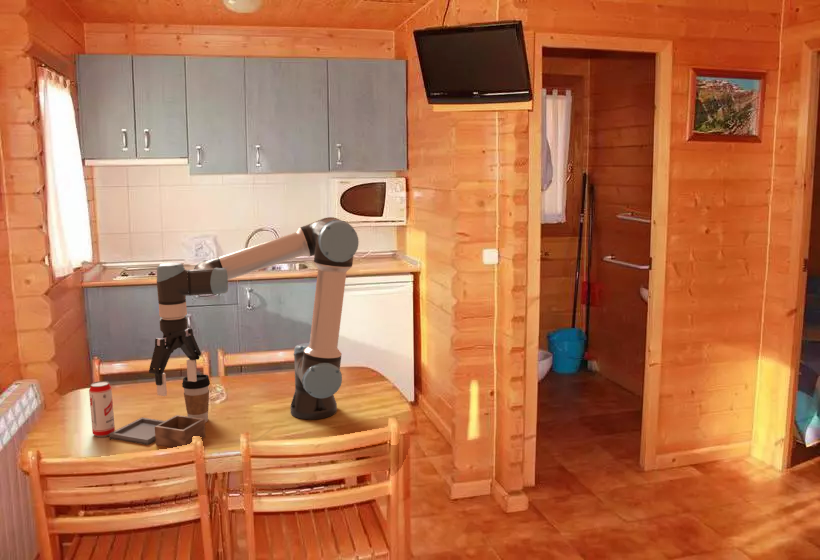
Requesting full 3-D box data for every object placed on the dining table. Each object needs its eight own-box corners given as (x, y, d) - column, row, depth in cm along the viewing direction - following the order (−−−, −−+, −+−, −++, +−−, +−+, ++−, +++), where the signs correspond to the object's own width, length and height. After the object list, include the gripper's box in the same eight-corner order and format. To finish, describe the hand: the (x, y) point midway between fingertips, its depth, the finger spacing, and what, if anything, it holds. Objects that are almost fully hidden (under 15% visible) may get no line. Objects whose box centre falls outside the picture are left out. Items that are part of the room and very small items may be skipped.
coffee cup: (204, 428, 226) (201, 381, 223) (179, 426, 227) (176, 380, 225) (216, 418, 234) (214, 373, 231) (192, 416, 235) (189, 372, 233)
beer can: (118, 429, 224) (114, 380, 221) (110, 437, 218) (106, 386, 215) (97, 430, 224) (93, 380, 221) (89, 438, 218) (85, 387, 215)
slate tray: (178, 429, 225) (178, 423, 224) (147, 446, 212) (147, 439, 211) (142, 423, 230) (141, 417, 229) (109, 439, 217) (109, 433, 216)
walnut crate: (205, 438, 218) (204, 419, 217) (184, 450, 209) (183, 431, 207) (178, 433, 221) (176, 414, 220) (155, 446, 212) (154, 426, 211)
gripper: (189, 307, 221) (193, 374, 225) (131, 325, 198) (137, 400, 202) (210, 308, 218) (214, 376, 222) (154, 328, 195) (159, 403, 199)
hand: (177, 388), depth 212 cm, fingers open, 13 cm apart
